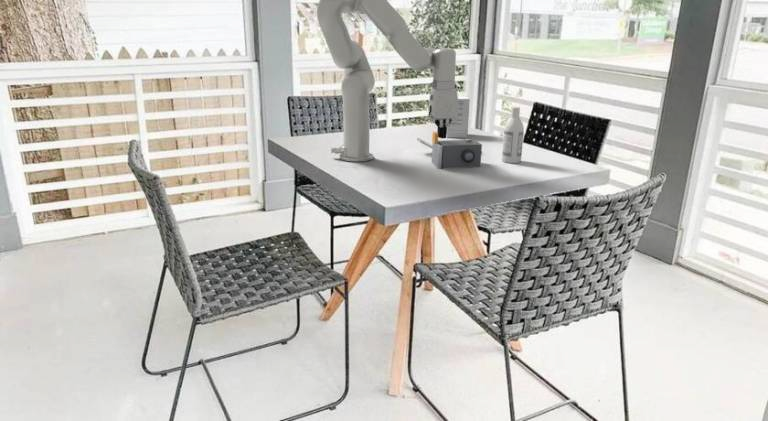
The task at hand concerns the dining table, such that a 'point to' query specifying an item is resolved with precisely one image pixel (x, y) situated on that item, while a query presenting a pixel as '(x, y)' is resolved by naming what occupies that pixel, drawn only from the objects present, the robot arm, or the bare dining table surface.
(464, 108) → the supplement box
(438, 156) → the side door
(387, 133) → the dining table surface
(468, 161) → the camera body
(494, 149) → the dining table surface
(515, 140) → the bath foam
